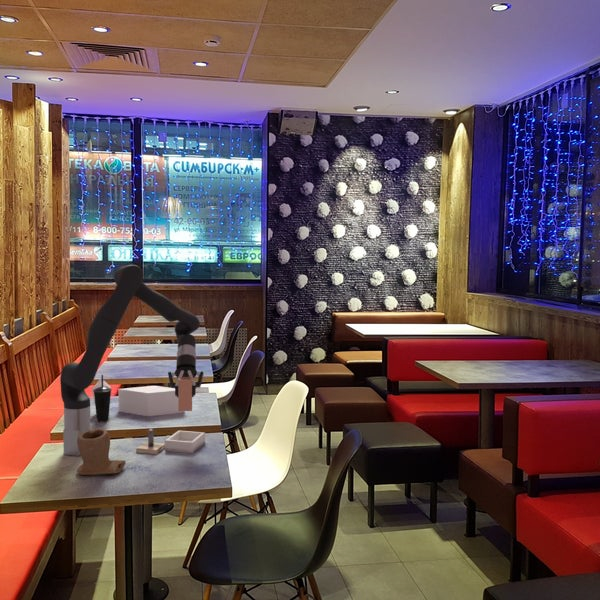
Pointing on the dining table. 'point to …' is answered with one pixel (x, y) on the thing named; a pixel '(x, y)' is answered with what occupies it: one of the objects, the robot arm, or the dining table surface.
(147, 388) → the block
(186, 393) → the sleeve
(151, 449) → the stake board
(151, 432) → the stake
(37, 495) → the dining table surface
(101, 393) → the drinking cup
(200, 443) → the tray
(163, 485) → the dining table surface
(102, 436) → the brown hollow piece
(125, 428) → the dining table surface
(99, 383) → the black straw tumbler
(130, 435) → the dining table surface
